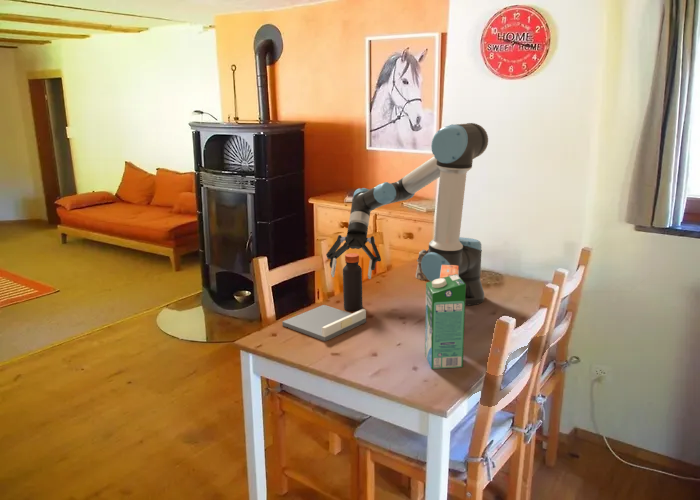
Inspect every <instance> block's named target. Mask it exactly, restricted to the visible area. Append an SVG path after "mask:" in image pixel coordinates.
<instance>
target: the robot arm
mask: <svg viewBox="0 0 700 500" xmlns="http://www.w3.org/2000/svg"><path fill="white" fill-rule="evenodd" d="M488 144H489V136H488V133H487V131H486V129H485V128H484V127H483V126H482V125H480V124H478V123H474V122H468V123H460V124H459V123H458V124H457V123H456V124H448V125H446V126H443V127H441V128H439V129H438V130H437V131H436V133H435V134H434V136H433V137H432V140H431V152H432V155H433V156H432V157H431V158H429V159H428V160H426V161H425V162H423V163H422V164H420V165H419V166H417V167H416V168H414V169H413V170H412V171H410V172H409V173H407V174H406V175H404V176H403V177H401V179H399V180H396V181H395V182H391V183H390V182H389V181H385V182H383V183H380V184H377V185H376V186H374V187H372V188H370V189H368V188H365V187H362V188H360V187H359V188H357V189H356V190H355V191H354V192H353V195H352V199H351V207H350V208H351V209H350V213H349V214H350V215H349V220H348V226H347V232H346V236H342V235H341V234H339V235H337V238H336V241H335V242H334V243H333V244H332V246H331V248H330V249H329V250H328V252H327V253H326V255H325V256H326V258H327V259H328V260H330V261H329V268H331V271H330V275H331V277H332V278H335V274H336V268H337V260H338V258H339V257H340V256H342V255H343V254H344V253H346V251H348V250H349V249H352V250H353V249H356V250H360V249H362V250H363V251H364V252H365V254H366V255H367V256H368V258H370V259H369V262H368V263H369V264H368V271H367V278H368V280H372V273H373V272H372V271H375V270H376V264H377V262H382V258H381V255H380V252H379V250H378V248H377V245H376V239H375V236H373V235H372V236H370V237H368V232H369V231H368V230H369V225H370V218H371V217H370V216H371V211H374V210H376V209H379V208H380V207H382V206H385V205H390V204H394V203H398V202H399V203H400V202H402V201H407V200H410V199H412V198H413V197H414V196H415V193H418V192H419V191H420V190H423V188H425V187H426V186H428V185H429V184H432V183H433V182H434V181H436V180H437V179H439V182H438V183H439V184H438V191H437V192H438V193H437V204H436V212H435V213H436V215H435V223H434V224H435V226H434V236H433V238H432V239H431V241H429V242H428V249H429V250H428V249H427V250H428V253H427V254H426V255H425V256H424V257H423V258H422V261H421V268H422V271H423V273H424V275H425V276H426V278H427V279H428V282H431V281H433V280H436V279H439V278H440V272H441V265H457V266H459V277H460V278H461V279H462V280H463V282H464V283H465V284H466V292H465V306H475V305H479V304H482V303H483V302H484V301H485V290H484V288H483V284H482V280H481V269H482V252H483V251H482V242H481V241H480V240H478V239H475V238H470V237H462V236H461V227H462V217H463V209H464V200H465V199H464V198H465V189H466V181H467V173H468V172H469V171H470V170H471V169H472V168H473V160H474V159H476V158H477V157H479V156H481V155H482V154H483V153H484V152H485V151H486V150H487V147H488ZM367 243H368V244H370V245H371V248H372V250H373V252H374V254H375V255H374V254H373V252H371V250H370V249H369V248H368V246H367V245H366V244H367ZM341 244H343V245H341Z"/></svg>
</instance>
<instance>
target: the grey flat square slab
mask: <svg viewBox="0 0 700 500" xmlns="http://www.w3.org/2000/svg"><path fill="white" fill-rule="evenodd" d="M281 322H282V326H283V327H285V328H287V327H288V329H290V330H293V331H296V332H299V333H300V334H304V335H306V336H309V337H311V338H315V339H316V340H319V341H322V342H327V341H329V340H331V339H333V338H336V337H337V336H339V335H342V334H344V333H346V332H348V331H351V330H352V329H355V328H357V327H358V326H361V325H363V324H364V323H367V309H365V308H362V309H361V310H358V311H354V312H353V313H351V312H350V311H346V310H342V309H338V308H336V307H332V306H329V305H326V304H322V305H320V306H317V307H315V308H312V309H310V310H307V311H305V312H302V313H300V314H298V315H295V316H293V317H291V318H288V319H285V320H282V321H281Z"/></svg>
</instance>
